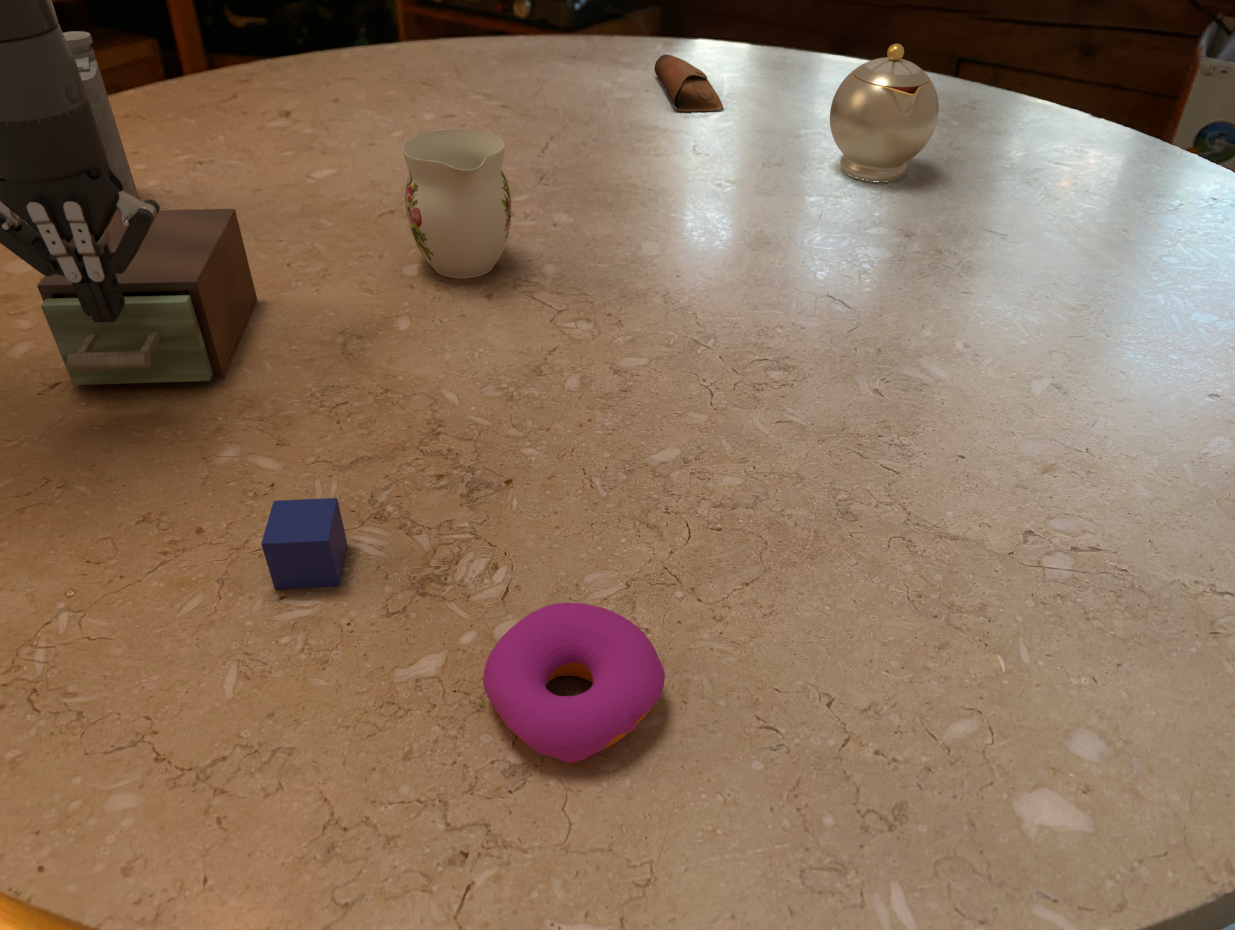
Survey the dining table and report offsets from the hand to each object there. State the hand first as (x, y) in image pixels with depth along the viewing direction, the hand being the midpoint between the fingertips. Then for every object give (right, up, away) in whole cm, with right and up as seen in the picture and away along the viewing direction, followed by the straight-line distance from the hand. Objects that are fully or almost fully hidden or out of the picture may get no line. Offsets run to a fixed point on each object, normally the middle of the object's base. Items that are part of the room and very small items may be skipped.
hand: (108, 317), depth 76 cm
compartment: (-1, -2, +10) cm, 10 cm away
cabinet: (-1, 0, +14) cm, 14 cm away
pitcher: (+24, +11, +28) cm, 39 cm away
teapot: (+76, +28, +52) cm, 96 cm away
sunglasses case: (+53, +48, +75) cm, 103 cm away
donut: (+39, -27, -17) cm, 50 cm away
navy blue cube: (+20, -19, -9) cm, 29 cm away
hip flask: (-17, +18, +35) cm, 43 cm away
